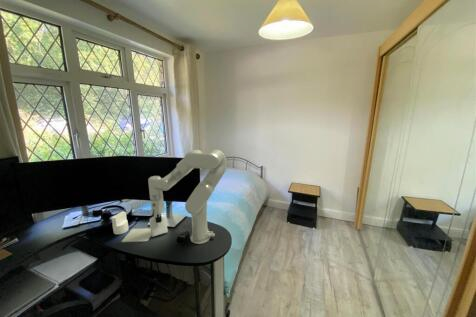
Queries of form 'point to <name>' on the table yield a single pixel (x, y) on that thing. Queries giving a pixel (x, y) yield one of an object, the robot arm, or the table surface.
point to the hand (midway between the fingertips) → (158, 221)
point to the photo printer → (158, 226)
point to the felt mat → (138, 235)
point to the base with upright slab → (120, 223)
